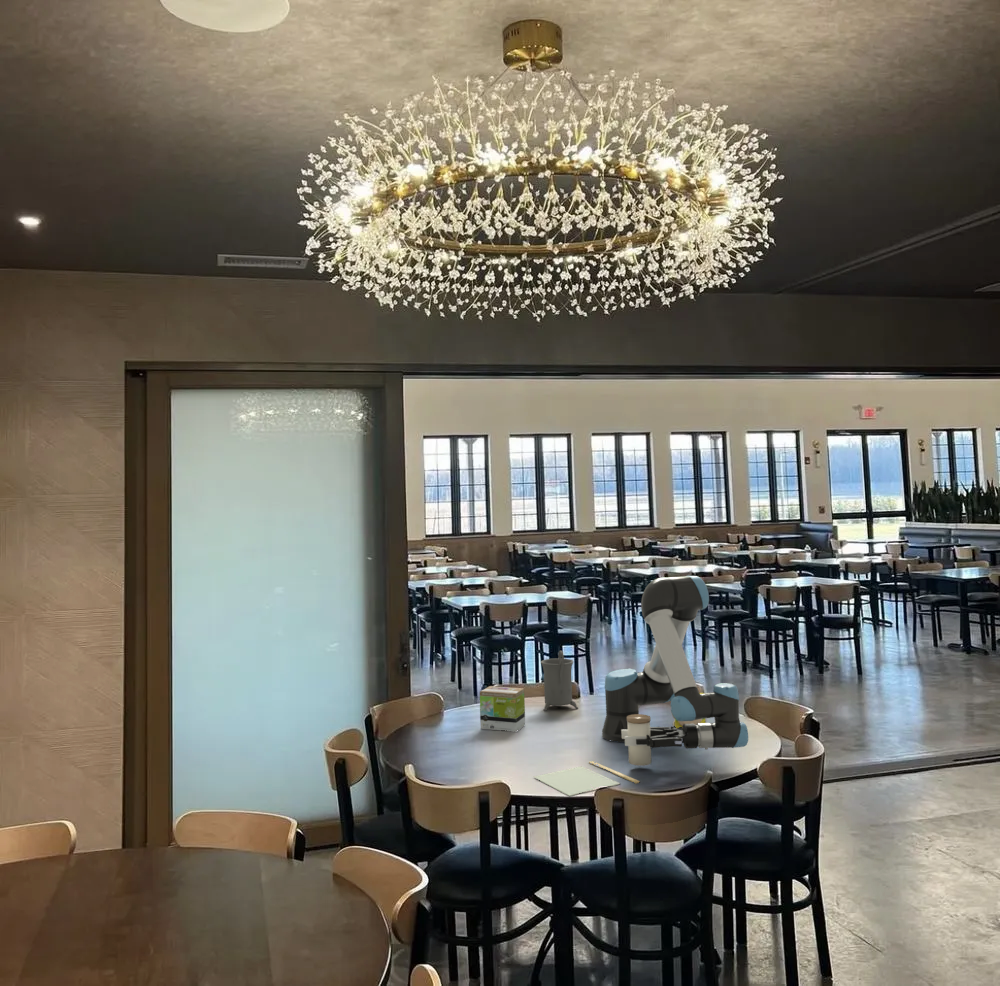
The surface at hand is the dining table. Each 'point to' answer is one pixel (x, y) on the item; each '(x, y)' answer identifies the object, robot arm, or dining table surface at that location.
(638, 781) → the tan wooden stick
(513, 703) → the tea box
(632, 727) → the canister
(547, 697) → the grey footed bucket
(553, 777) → the mat
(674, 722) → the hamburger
